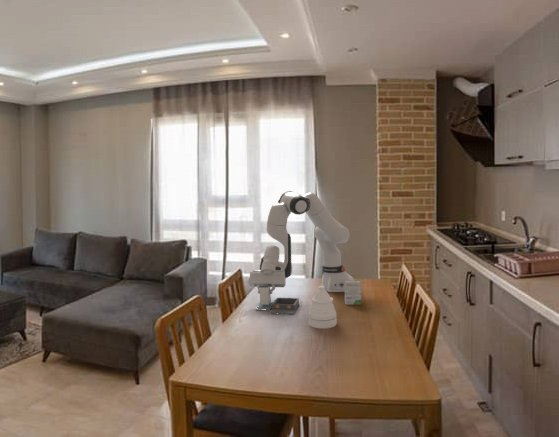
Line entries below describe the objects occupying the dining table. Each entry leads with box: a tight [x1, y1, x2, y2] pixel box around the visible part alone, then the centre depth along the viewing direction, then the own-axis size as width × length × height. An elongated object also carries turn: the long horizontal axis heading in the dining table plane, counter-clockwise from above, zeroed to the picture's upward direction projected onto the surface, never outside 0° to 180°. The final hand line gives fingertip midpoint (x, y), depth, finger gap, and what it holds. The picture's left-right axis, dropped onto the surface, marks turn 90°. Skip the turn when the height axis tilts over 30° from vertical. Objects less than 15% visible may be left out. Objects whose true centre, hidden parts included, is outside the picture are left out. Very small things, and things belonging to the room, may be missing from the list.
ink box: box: [344, 280, 362, 306], centre depth 225 cm, size 9×5×12 cm, turn 84°
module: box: [259, 284, 272, 304], centre depth 223 cm, size 5×5×10 cm
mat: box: [256, 301, 274, 311], centre depth 224 cm, size 8×12×1 cm, turn 167°
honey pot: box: [308, 285, 338, 329], centre depth 195 cm, size 13×13×18 cm
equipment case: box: [269, 297, 300, 316], centre depth 219 cm, size 12×17×4 cm
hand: (264, 293), depth 223 cm, fingers closed on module, 5 cm apart
